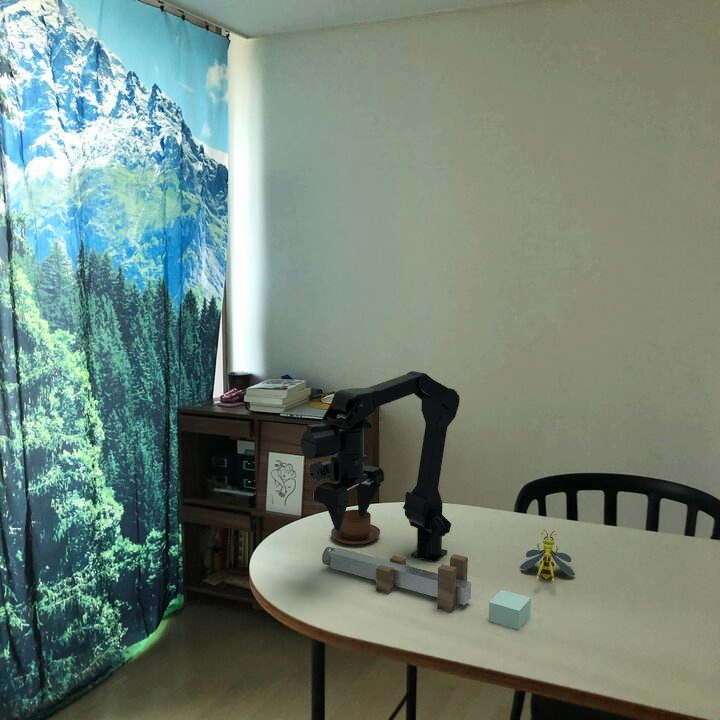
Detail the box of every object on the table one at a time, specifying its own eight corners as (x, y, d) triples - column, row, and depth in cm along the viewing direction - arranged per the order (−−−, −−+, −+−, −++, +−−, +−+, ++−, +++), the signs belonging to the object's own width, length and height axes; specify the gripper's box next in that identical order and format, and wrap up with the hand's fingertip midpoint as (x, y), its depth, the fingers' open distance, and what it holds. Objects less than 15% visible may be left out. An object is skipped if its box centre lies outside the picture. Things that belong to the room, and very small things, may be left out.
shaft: (332, 560, 159) (332, 544, 158) (471, 598, 141) (472, 580, 141) (322, 567, 156) (321, 550, 155) (463, 607, 138) (464, 588, 137)
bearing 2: (453, 593, 146) (454, 553, 144) (466, 596, 144) (467, 557, 143) (437, 608, 139) (437, 567, 138) (451, 612, 138) (452, 571, 136)
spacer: (530, 597, 136) (530, 617, 136) (501, 589, 139) (500, 608, 140) (519, 610, 131) (518, 630, 131) (489, 602, 134) (488, 621, 135)
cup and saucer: (323, 544, 171) (322, 519, 170) (343, 526, 182) (342, 503, 181) (369, 552, 166) (369, 527, 165) (387, 533, 177) (387, 509, 176)
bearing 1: (393, 576, 153) (394, 554, 152) (406, 580, 151) (406, 558, 151) (376, 591, 146) (376, 568, 146) (388, 594, 145) (388, 571, 144)
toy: (516, 557, 145) (522, 524, 159) (515, 594, 147) (521, 558, 161) (575, 564, 142) (576, 530, 156) (574, 602, 144) (575, 565, 158)
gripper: (342, 436, 159) (343, 502, 161) (291, 455, 143) (292, 529, 146) (385, 443, 153) (385, 512, 155) (336, 464, 137) (336, 541, 140)
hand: (350, 523), depth 149 cm, fingers open, 9 cm apart
